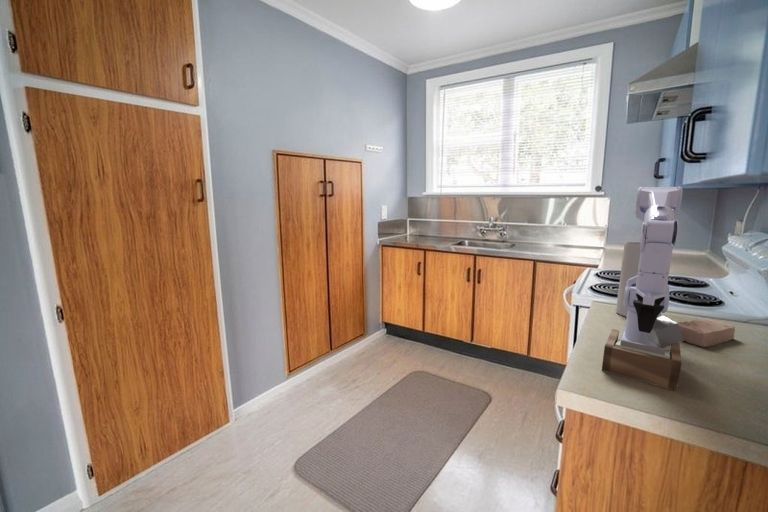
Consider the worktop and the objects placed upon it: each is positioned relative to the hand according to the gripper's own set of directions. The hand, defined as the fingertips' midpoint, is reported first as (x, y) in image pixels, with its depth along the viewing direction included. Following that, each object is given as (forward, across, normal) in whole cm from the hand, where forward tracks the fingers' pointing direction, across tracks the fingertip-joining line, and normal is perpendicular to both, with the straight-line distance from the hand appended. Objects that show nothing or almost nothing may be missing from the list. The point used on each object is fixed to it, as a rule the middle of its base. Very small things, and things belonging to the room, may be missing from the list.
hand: (645, 327), depth 82 cm
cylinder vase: (+10, -44, -3) cm, 45 cm away
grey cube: (+3, -3, +4) cm, 6 cm away
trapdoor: (+5, +2, 0) cm, 6 cm away
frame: (+9, +3, 0) cm, 10 cm away
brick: (+10, -32, +13) cm, 36 cm away
